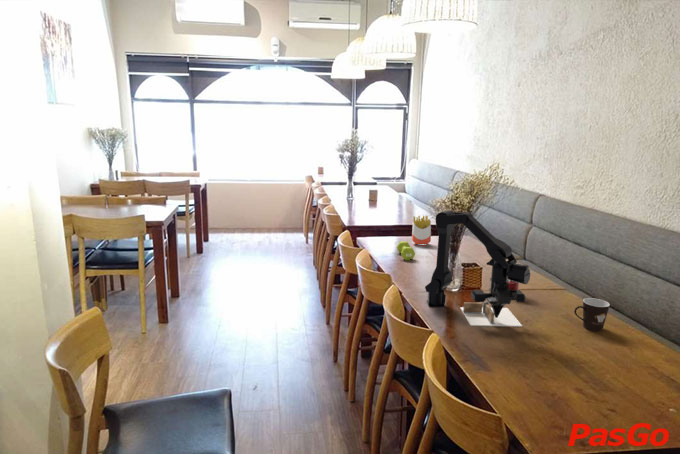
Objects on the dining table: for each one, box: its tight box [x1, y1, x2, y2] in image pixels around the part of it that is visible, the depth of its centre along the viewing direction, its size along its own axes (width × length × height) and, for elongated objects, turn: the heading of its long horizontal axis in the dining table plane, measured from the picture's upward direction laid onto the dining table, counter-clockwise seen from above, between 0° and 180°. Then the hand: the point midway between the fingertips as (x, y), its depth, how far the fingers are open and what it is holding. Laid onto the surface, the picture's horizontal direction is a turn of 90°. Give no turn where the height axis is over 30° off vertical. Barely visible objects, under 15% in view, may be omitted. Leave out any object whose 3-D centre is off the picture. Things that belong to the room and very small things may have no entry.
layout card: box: [459, 306, 523, 328], centre depth 181 cm, size 19×17×1 cm
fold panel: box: [485, 304, 494, 323], centre depth 177 cm, size 9×1×4 cm, turn 177°
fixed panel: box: [463, 301, 489, 314], centre depth 183 cm, size 9×2×5 cm, turn 88°
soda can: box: [507, 278, 520, 290], centre depth 204 cm, size 7×7×12 cm
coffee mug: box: [573, 297, 611, 333], centre depth 171 cm, size 12×9×10 cm
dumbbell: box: [396, 240, 416, 261], centre depth 262 cm, size 16×8×7 cm, turn 3°
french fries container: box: [411, 215, 432, 245], centre depth 286 cm, size 5×11×18 cm, turn 91°
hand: (496, 317), depth 176 cm, fingers closed
